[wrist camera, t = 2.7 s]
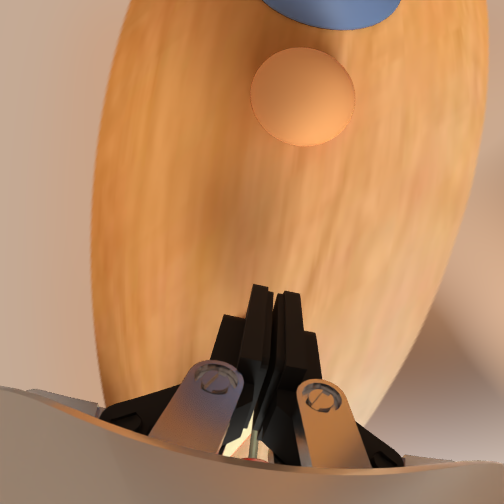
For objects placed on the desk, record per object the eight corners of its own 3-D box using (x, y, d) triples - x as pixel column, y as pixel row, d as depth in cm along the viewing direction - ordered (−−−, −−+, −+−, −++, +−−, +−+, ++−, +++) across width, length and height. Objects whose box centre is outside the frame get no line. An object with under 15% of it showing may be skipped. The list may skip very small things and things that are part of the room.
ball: (274, 158, 20) (273, 164, 15) (240, 79, 18) (226, 57, 13) (356, 129, 19) (385, 126, 13) (322, 51, 17) (337, 20, 12)
